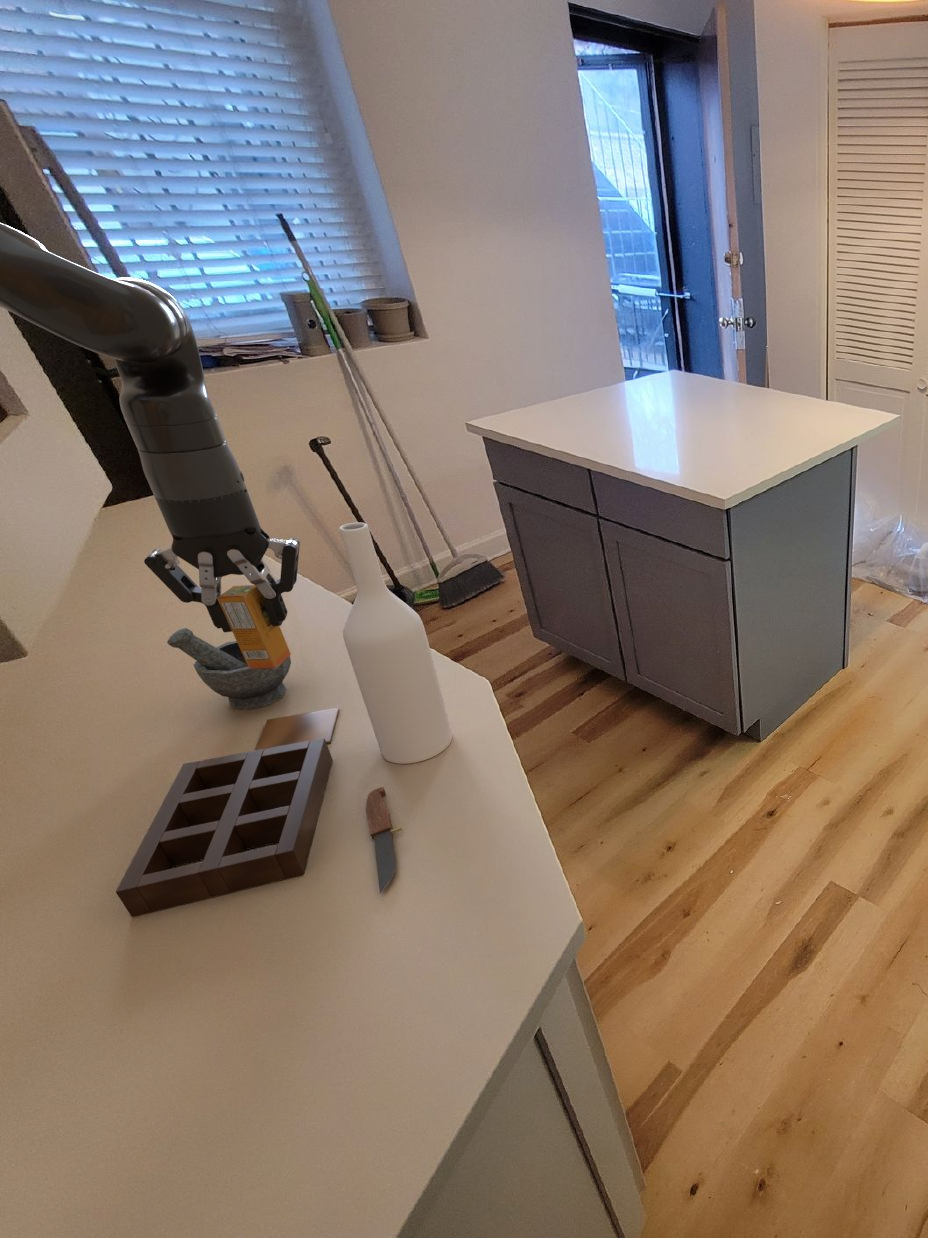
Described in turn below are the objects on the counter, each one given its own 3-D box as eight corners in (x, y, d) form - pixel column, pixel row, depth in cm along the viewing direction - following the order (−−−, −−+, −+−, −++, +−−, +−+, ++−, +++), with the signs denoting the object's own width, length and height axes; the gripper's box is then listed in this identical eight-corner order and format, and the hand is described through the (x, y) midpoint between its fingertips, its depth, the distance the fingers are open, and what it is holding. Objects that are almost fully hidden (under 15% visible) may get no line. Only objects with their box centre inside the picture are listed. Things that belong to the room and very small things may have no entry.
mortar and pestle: (299, 671, 102) (272, 599, 96) (304, 701, 96) (275, 626, 90) (200, 694, 96) (164, 618, 90) (199, 728, 89) (160, 649, 84)
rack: (131, 917, 65) (114, 892, 63) (194, 786, 80) (183, 763, 79) (304, 874, 70) (293, 850, 69) (333, 760, 86) (324, 737, 84)
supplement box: (262, 656, 86) (234, 583, 81) (292, 656, 86) (266, 583, 81) (245, 670, 83) (215, 595, 78) (276, 670, 83) (248, 596, 79)
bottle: (456, 752, 88) (399, 532, 74) (383, 772, 84) (307, 544, 70) (448, 719, 94) (393, 510, 80) (379, 736, 90) (308, 519, 76)
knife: (413, 876, 70) (378, 890, 68) (415, 884, 70) (381, 897, 68) (391, 783, 81) (361, 792, 79) (393, 789, 82) (363, 799, 80)
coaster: (253, 758, 85) (252, 755, 85) (267, 721, 91) (266, 719, 91) (330, 743, 88) (329, 741, 88) (339, 709, 95) (338, 707, 94)
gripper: (96, 502, 68) (167, 651, 76) (273, 492, 74) (321, 631, 82) (126, 481, 74) (188, 621, 82) (287, 472, 80) (331, 604, 88)
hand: (254, 625), depth 82 cm, fingers closed on supplement box, 4 cm apart
